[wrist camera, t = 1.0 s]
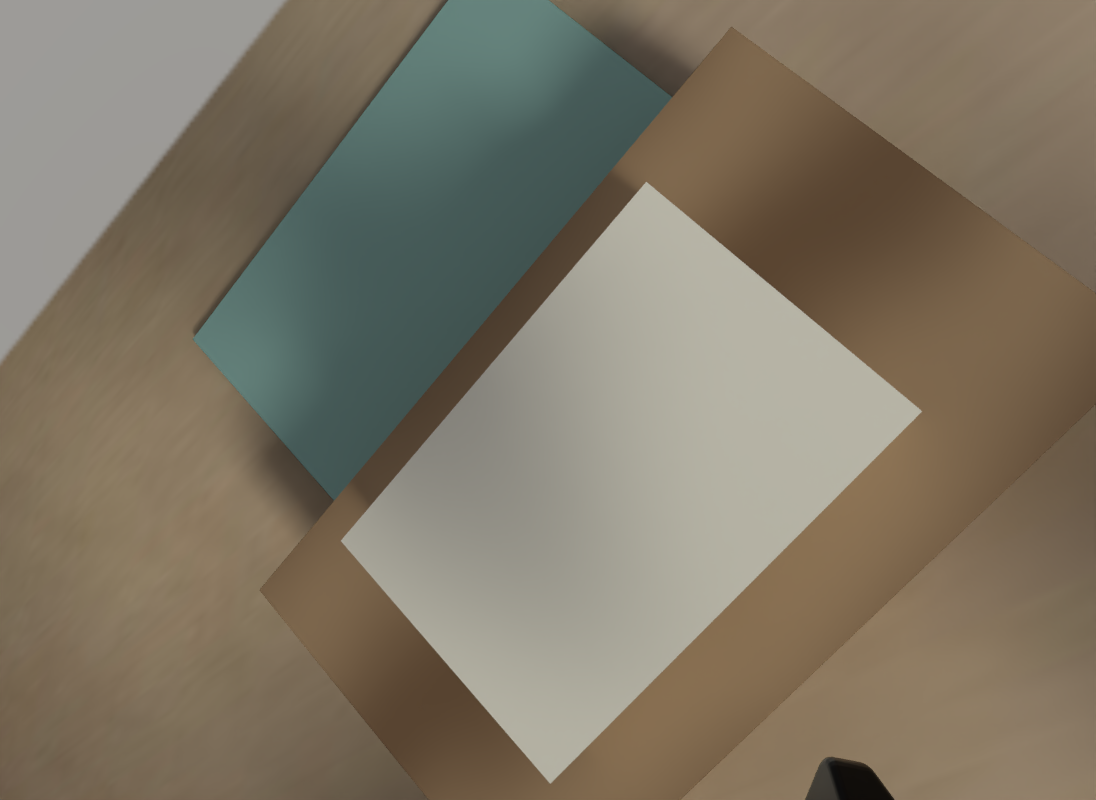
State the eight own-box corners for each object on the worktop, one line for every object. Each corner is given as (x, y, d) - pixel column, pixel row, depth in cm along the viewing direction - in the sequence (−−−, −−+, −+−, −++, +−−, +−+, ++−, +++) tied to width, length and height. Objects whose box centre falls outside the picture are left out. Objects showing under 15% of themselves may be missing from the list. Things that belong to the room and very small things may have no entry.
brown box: (1087, 362, 17) (1162, 341, 13) (591, 841, 20) (537, 935, 16) (749, 105, 20) (731, 26, 16) (353, 564, 23) (259, 589, 19)
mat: (735, 150, 20) (734, 146, 19) (386, 552, 22) (380, 554, 22) (489, -44, 22) (485, -50, 22) (199, 340, 25) (192, 339, 24)
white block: (909, 414, 15) (922, 411, 13) (582, 743, 16) (550, 783, 14) (667, 211, 16) (646, 181, 14) (392, 529, 18) (341, 540, 16)
